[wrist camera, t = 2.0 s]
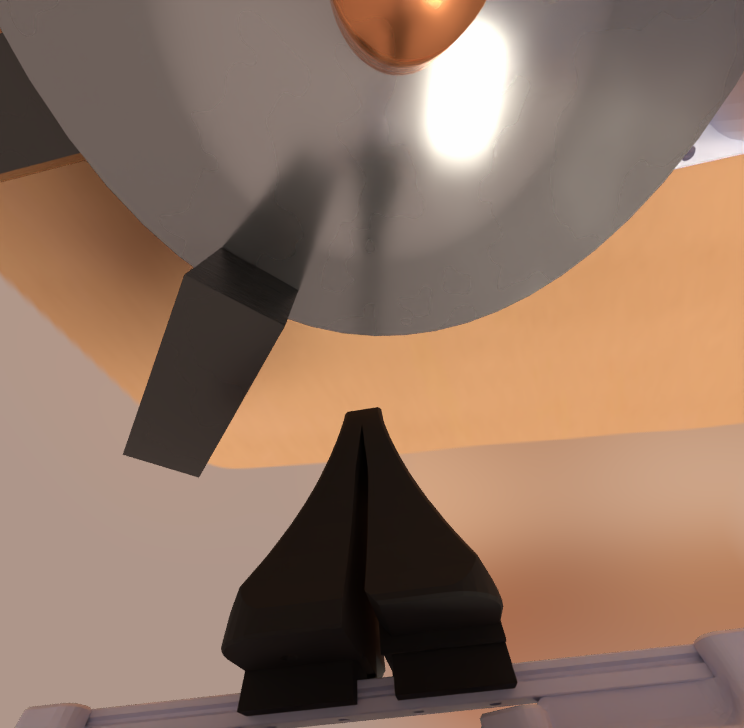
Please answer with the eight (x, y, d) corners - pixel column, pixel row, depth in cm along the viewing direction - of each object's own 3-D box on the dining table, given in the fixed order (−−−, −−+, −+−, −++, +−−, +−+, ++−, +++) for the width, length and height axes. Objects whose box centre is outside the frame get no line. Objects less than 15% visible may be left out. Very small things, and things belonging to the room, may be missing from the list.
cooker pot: (703, -604, 6) (1385, -2074, 2) (571, 233, 15) (652, 265, 11) (-229, -238, 8) (-878, -668, 4) (151, 323, 17) (86, 380, 13)
